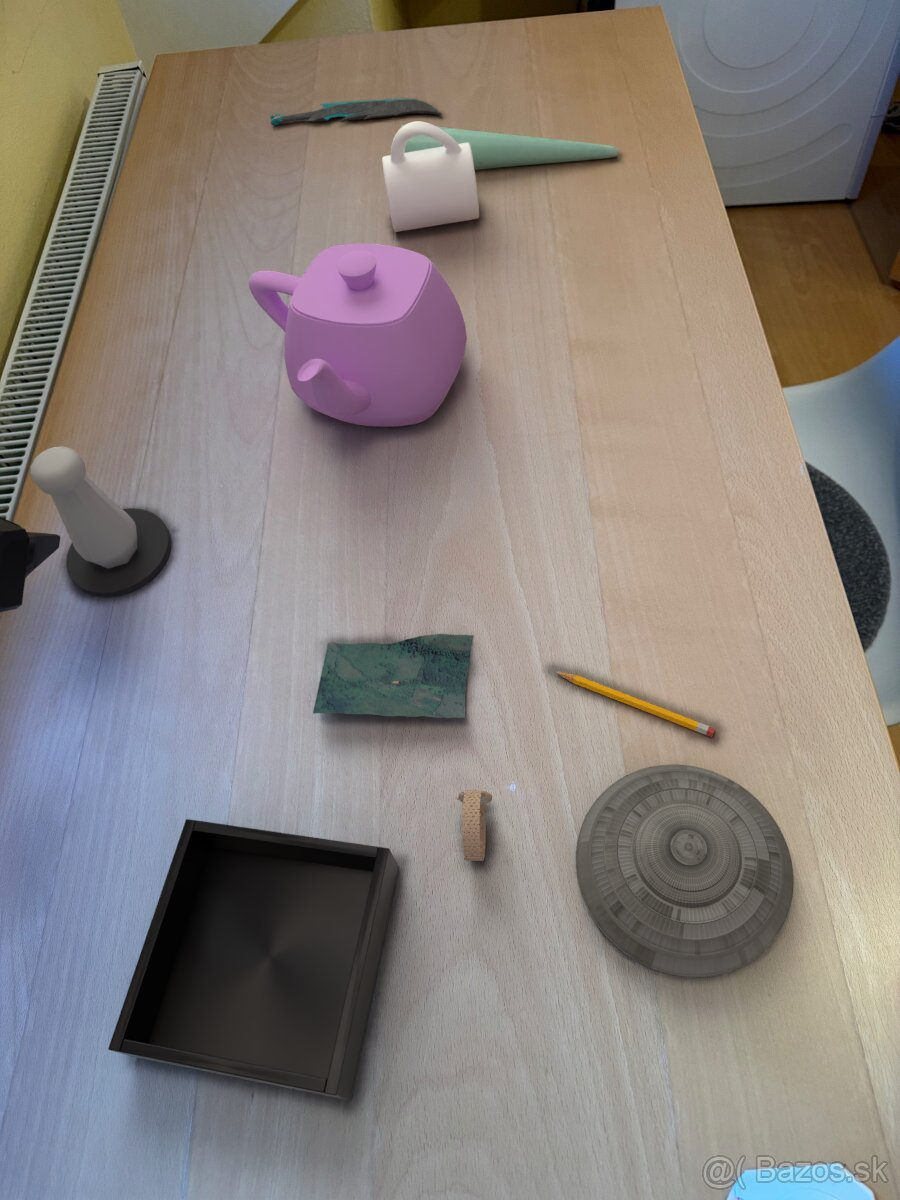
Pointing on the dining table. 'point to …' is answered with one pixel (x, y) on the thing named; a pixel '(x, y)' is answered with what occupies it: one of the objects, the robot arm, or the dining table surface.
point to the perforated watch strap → (474, 823)
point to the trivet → (132, 574)
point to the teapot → (367, 333)
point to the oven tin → (261, 958)
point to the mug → (429, 180)
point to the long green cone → (515, 148)
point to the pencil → (639, 704)
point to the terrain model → (397, 677)
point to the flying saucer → (684, 870)
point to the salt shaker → (85, 508)
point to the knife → (361, 110)
